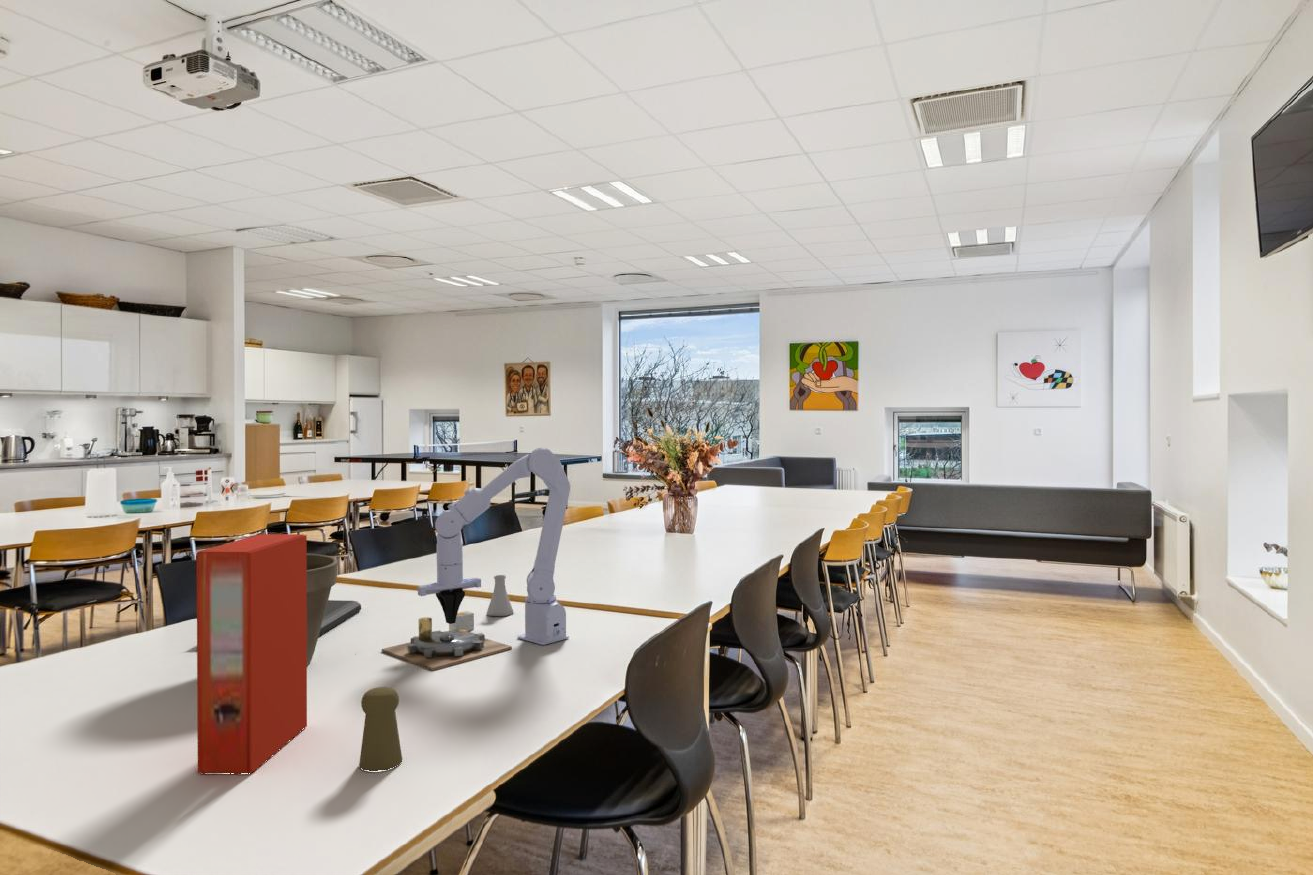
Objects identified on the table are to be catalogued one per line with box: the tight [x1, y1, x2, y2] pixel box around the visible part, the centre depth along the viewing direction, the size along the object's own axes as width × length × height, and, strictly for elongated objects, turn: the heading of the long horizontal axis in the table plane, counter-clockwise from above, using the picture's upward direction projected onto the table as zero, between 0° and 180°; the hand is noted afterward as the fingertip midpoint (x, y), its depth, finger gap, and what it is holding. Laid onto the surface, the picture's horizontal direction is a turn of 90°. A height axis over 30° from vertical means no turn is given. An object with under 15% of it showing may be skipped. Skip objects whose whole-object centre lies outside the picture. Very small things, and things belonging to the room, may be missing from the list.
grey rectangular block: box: [448, 610, 475, 631], centre depth 189 cm, size 3×5×4 cm, turn 138°
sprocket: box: [408, 616, 486, 658], centre depth 172 cm, size 17×17×6 cm
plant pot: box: [307, 553, 339, 667], centre depth 161 cm, size 25×25×22 cm
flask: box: [486, 574, 514, 617], centre depth 205 cm, size 7×7×10 cm
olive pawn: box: [358, 686, 403, 771], centre depth 115 cm, size 6×6×11 cm
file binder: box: [196, 533, 308, 775], centre depth 120 cm, size 8×17×32 cm, turn 179°
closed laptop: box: [318, 599, 362, 638], centre depth 191 cm, size 33×4×24 cm
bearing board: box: [381, 637, 513, 671], centre depth 172 cm, size 20×20×1 cm
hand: (450, 622), depth 178 cm, fingers closed
